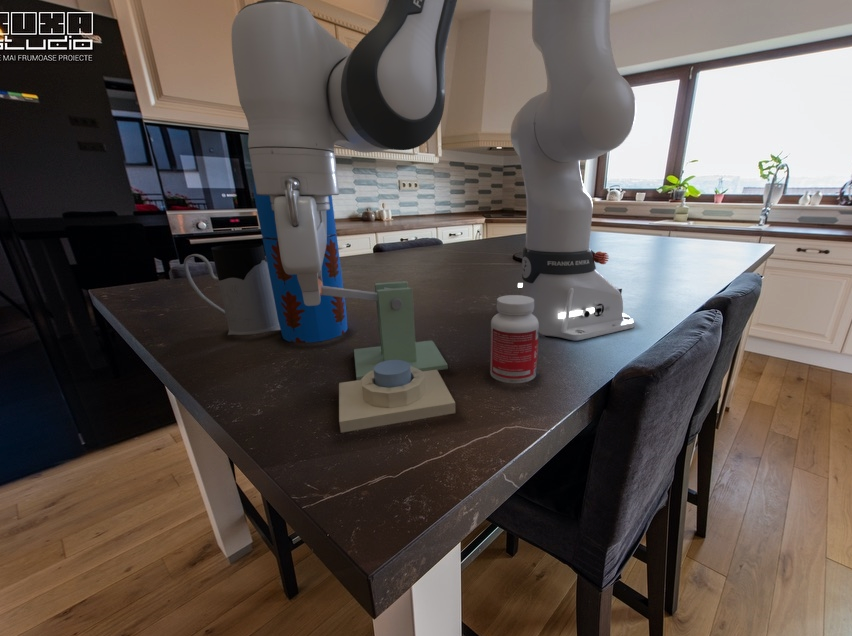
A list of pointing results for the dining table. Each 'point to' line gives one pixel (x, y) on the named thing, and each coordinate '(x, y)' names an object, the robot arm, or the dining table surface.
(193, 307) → the dining table surface
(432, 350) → the green lever stand
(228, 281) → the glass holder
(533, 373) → the pill bottle
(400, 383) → the power button
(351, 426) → the control block
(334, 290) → the switch lever
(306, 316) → the thermos
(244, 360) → the dining table surface
